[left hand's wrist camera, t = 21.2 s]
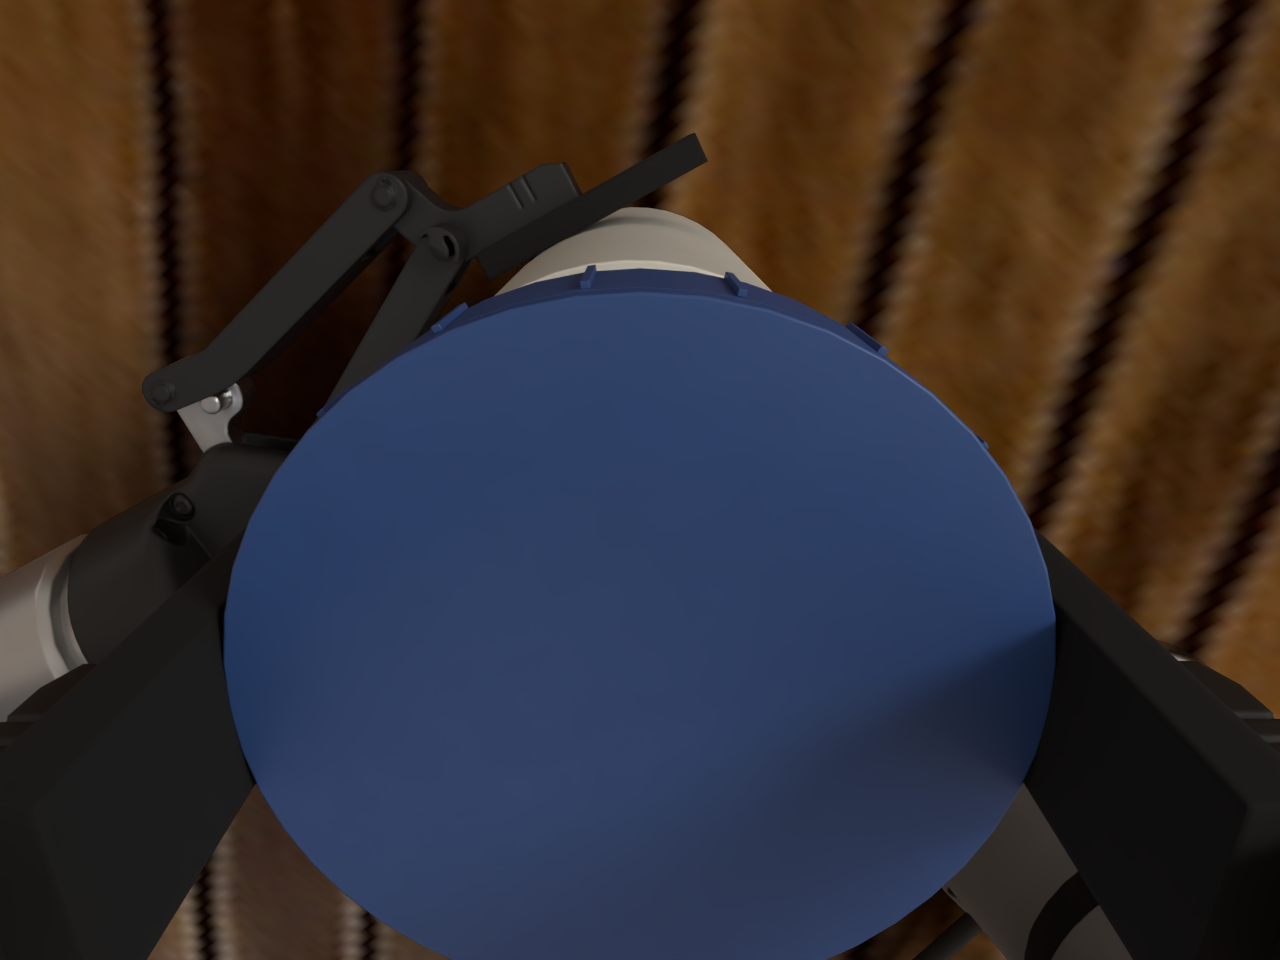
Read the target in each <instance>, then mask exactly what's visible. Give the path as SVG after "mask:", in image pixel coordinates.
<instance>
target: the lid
mask: <svg viewBox="0 0 1280 960" xmlns="http://www.w3.org/2000/svg"><path fill="white" fill-rule="evenodd" d="M887 352H888V349H886V348H885V347H884V346H882V345H881V344H880V343H878V342H877V341H876V340H874V339H873V338H872V337H870V336H869V335H867V334H866V333H865V332H863V331H862V330H861V329H859V328H858V327H857V326H855V325H854V324H852V323H851V322H849V324H848V325H847V326H846V327H845V326H843V325H842V324H840V323H839V322H837V321H835V320H833V319H831V318H829V317H827V316H825V315H823V314H821V313H819V312H817V311H815V310H814V309H812V308H810V307H808V306H806V305H804V304H802V303H800V302H798V301H796V300H794V299H791V298H788V297H785V296H782V295H780V294H777V293H774V292H771V291H768V290H765V289H763V288H760V287H757V286H754V285H751V284H749V283H745V282H740V280H739V279H738V278H737V277H736V276H735V275H734V274H733V273H730V272H725V276H724V278H721V277H716V276H711V275H707V274H702V273H697V272H688V271H674V270H659V269H645V268H636V269H621V270H605V271H597V269H596V265H589V266H587V268H586V270H585V272H583V273H578V274H573V275H568V276H563V277H558V278H553V279H548V280H543V281H538V282H534V283H531V284H528V285H525V286H523V287H520V288H517V289H514V290H511V291H508V292H505V293H503V294H500V295H497V296H494V297H491V298H488V299H485V300H483V301H481V302H480V303H478V304H476V305H474V306H472V307H470V308H468V306H467V304H466V303H465V302H464V303H462V304H460V305H458V306H457V307H456V308H455V309H453V310H452V311H451V312H449V313H448V314H447V315H446V316H444V317H443V318H442V319H440V320H439V321H438V322H437V323H435V324H434V325H433V326H431V329H430V330H429V331H428V332H426V333H425V334H423V335H422V336H421V337H419V338H418V339H416V340H415V341H413V342H412V343H411V344H409V345H408V346H406V347H405V348H404V349H402V350H401V351H399V352H398V353H397V354H395V355H394V356H393V357H392V358H390V359H389V360H388V361H386V362H385V363H384V364H383V365H381V366H380V367H379V368H378V369H376V370H375V371H374V372H372V373H371V374H370V375H369V376H367V377H366V378H365V379H363V378H361V379H359V380H358V381H357V382H356V383H354V384H353V385H352V386H350V387H349V388H348V389H346V390H345V391H344V392H343V393H341V394H340V395H339V396H337V397H336V398H335V399H333V400H332V401H331V402H330V403H328V404H327V405H326V406H324V407H323V408H322V409H321V410H320V411H319V412H318V413H317V414H316V415H317V416H318V417H319V418H320V419H319V420H318V421H317V422H316V423H315V424H314V425H313V426H312V427H310V428H309V429H308V430H307V432H306V433H305V434H304V436H303V437H302V438H301V440H300V441H299V442H298V443H297V445H296V446H295V447H294V449H293V450H292V451H291V453H290V454H289V455H288V456H287V458H286V459H285V460H284V462H283V463H282V464H281V466H280V467H279V468H278V469H277V471H276V472H275V473H274V475H273V477H272V479H271V481H270V482H269V484H268V486H267V488H266V490H265V492H264V493H263V495H262V497H261V499H260V501H259V503H258V504H257V506H256V508H255V510H254V512H253V514H252V515H251V517H250V519H249V522H248V525H247V528H246V530H245V533H244V536H243V539H242V542H241V545H240V547H239V550H238V553H237V556H236V559H235V562H234V564H233V568H232V573H231V579H230V584H229V590H228V595H227V601H226V606H225V612H224V640H223V666H224V673H225V680H226V685H227V691H228V696H229V701H230V706H231V710H232V715H233V719H234V723H235V727H236V731H237V736H238V739H239V743H240V746H241V750H242V753H243V755H244V757H245V759H246V761H247V763H248V766H249V768H250V770H251V772H252V774H253V777H254V779H255V781H256V783H257V785H258V787H259V790H260V792H261V794H262V795H263V797H264V798H265V800H266V801H267V803H268V805H269V806H270V808H271V809H272V811H273V812H274V814H275V816H276V817H277V819H278V820H279V822H280V823H281V825H282V827H283V828H284V830H285V831H286V832H287V833H288V835H289V836H290V837H291V838H292V839H293V841H294V842H295V843H296V844H297V845H298V847H299V848H300V849H301V850H302V851H303V853H304V854H305V855H306V856H307V857H308V859H309V860H310V861H311V862H312V863H313V865H314V866H315V867H317V868H318V869H319V870H320V871H321V872H322V873H323V874H324V875H325V876H326V877H327V878H328V879H329V880H330V881H331V882H332V883H334V884H335V885H336V886H337V887H338V888H339V889H340V890H341V891H342V892H343V893H344V894H345V895H346V896H348V897H349V898H350V899H352V900H353V901H354V902H356V903H357V904H358V905H360V906H361V907H362V908H364V909H365V910H366V911H368V912H369V913H370V914H372V915H373V916H374V917H376V918H377V919H379V920H380V921H381V922H383V923H384V924H386V925H388V926H389V927H391V928H393V929H395V930H396V931H398V932H400V933H401V934H403V935H405V936H406V937H408V938H410V939H412V940H413V941H415V942H417V943H418V944H420V945H422V946H424V947H426V948H429V949H431V950H433V951H435V952H437V953H439V954H442V955H444V956H446V957H448V958H450V959H453V960H826V959H829V958H831V957H833V956H835V955H837V954H840V953H842V952H844V951H846V950H848V949H851V948H853V947H855V946H857V945H859V944H861V943H862V942H864V941H866V940H868V939H869V938H871V937H873V936H874V935H876V934H878V933H880V932H881V931H883V930H885V929H886V928H888V927H890V926H891V925H893V924H895V923H896V922H898V921H899V920H901V919H902V918H903V917H905V916H906V915H907V914H909V913H910V912H911V911H913V910H914V909H915V908H917V907H918V906H919V905H921V904H922V903H924V902H925V901H926V900H928V899H929V898H930V897H932V896H933V895H934V894H935V893H936V892H937V891H938V890H939V889H940V888H941V887H942V886H943V885H945V884H946V883H947V882H948V881H949V880H950V879H951V878H952V877H953V876H954V875H955V874H956V873H957V872H958V871H960V870H961V869H962V868H963V867H964V866H965V865H966V864H967V862H968V861H969V860H970V859H971V858H972V856H973V855H974V854H975V853H976V852H977V850H978V849H979V848H980V847H981V846H982V845H983V843H984V842H985V841H986V840H987V839H988V837H989V836H990V835H991V834H992V833H993V831H994V830H995V828H996V827H997V825H998V824H999V822H1000V821H1001V819H1002V817H1003V816H1004V814H1005V813H1006V811H1007V810H1008V808H1009V807H1010V805H1011V803H1012V802H1013V800H1014V799H1015V797H1016V796H1017V794H1018V792H1019V790H1020V788H1021V786H1022V783H1023V781H1024V779H1025V777H1026V775H1027V773H1028V770H1029V768H1030V766H1031V764H1032V762H1033V760H1034V758H1035V755H1036V753H1037V750H1038V747H1039V743H1040V740H1041V737H1042V732H1043V728H1044V724H1045V720H1046V716H1047V712H1048V707H1049V702H1050V697H1051V692H1052V687H1053V682H1054V675H1055V669H1056V621H1055V611H1054V606H1053V600H1052V594H1051V588H1050V583H1049V577H1048V571H1047V567H1046V564H1045V561H1044V558H1043V555H1042V552H1041V549H1040V547H1039V544H1038V541H1037V538H1036V535H1035V532H1034V529H1033V526H1032V523H1031V521H1030V519H1029V517H1028V515H1027V513H1026V511H1025V510H1024V508H1023V506H1022V504H1021V502H1020V500H1019V498H1018V497H1017V495H1016V493H1015V491H1014V489H1013V487H1012V485H1011V483H1010V482H1009V480H1008V478H1007V476H1006V474H1005V473H1004V472H1003V471H1002V469H1001V468H1000V467H999V465H998V464H997V463H996V461H995V460H994V459H993V457H992V456H991V455H990V453H989V452H988V451H987V449H988V448H989V446H988V445H987V444H986V442H985V441H984V440H982V439H981V438H980V437H979V436H977V435H976V434H975V433H974V432H973V431H972V430H971V429H970V428H969V427H968V426H967V425H966V424H964V423H963V422H962V421H961V420H960V419H959V418H958V417H957V416H956V415H955V414H954V413H953V412H952V411H951V410H950V409H949V408H948V407H947V406H946V405H945V404H944V403H943V402H942V401H941V400H940V399H939V398H938V397H937V396H936V395H935V394H933V393H932V392H931V391H930V390H929V389H927V388H926V387H925V386H923V385H922V384H921V383H920V382H918V381H917V380H916V379H915V378H913V377H912V376H911V375H909V374H908V373H907V372H906V371H904V370H903V369H902V368H900V367H899V366H898V365H897V364H895V363H894V362H893V361H891V360H890V359H889V358H888V357H886V356H885V355H886V354H887Z"/></svg>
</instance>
